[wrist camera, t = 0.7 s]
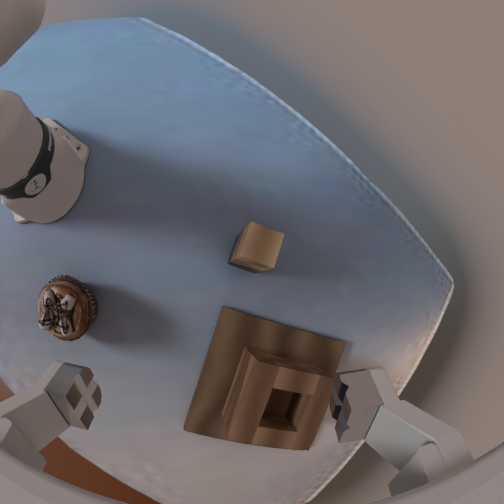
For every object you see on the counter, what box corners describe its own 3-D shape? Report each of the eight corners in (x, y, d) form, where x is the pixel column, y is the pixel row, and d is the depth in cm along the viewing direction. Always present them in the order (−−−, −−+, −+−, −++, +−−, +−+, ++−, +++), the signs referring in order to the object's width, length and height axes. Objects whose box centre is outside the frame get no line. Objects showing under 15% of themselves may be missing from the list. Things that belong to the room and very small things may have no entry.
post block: (183, 426, 39) (183, 459, 29) (222, 305, 43) (232, 311, 33) (300, 446, 43) (323, 474, 32) (341, 340, 47) (375, 351, 37)
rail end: (227, 263, 44) (239, 255, 34) (236, 236, 45) (251, 221, 34) (254, 273, 45) (274, 268, 34) (262, 246, 46) (284, 234, 35)
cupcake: (101, 275, 40) (78, 272, 30) (105, 336, 39) (83, 349, 29) (52, 276, 38) (21, 272, 28) (55, 334, 37) (26, 343, 27)
